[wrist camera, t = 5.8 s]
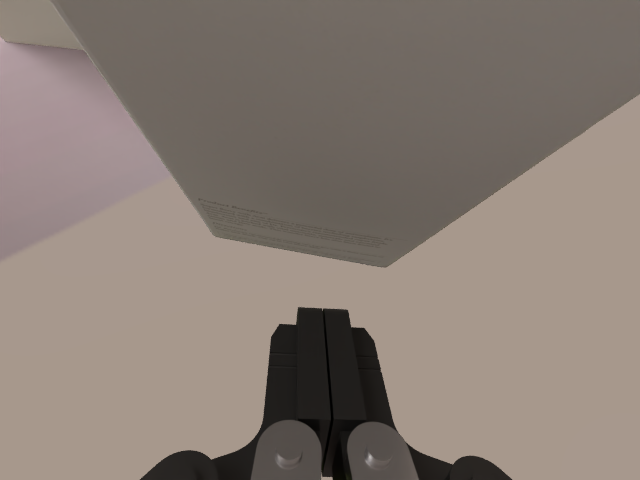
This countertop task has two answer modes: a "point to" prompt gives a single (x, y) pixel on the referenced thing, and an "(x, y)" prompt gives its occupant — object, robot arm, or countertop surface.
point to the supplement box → (356, 105)
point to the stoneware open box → (34, 24)
